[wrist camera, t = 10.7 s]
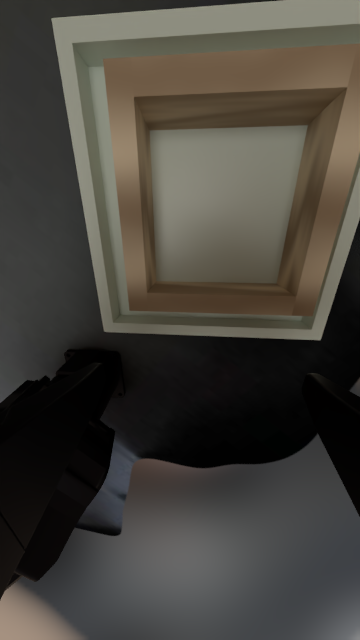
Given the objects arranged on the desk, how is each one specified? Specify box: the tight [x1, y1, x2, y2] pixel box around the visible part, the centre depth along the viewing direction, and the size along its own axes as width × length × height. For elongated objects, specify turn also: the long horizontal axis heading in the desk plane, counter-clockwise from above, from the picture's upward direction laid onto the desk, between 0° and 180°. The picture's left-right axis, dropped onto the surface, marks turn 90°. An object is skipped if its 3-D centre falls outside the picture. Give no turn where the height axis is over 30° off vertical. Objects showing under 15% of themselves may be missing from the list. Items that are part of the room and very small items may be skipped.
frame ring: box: [103, 43, 360, 316], centre depth 15 cm, size 14×14×4 cm
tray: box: [51, 0, 360, 340], centre depth 16 cm, size 20×20×2 cm
